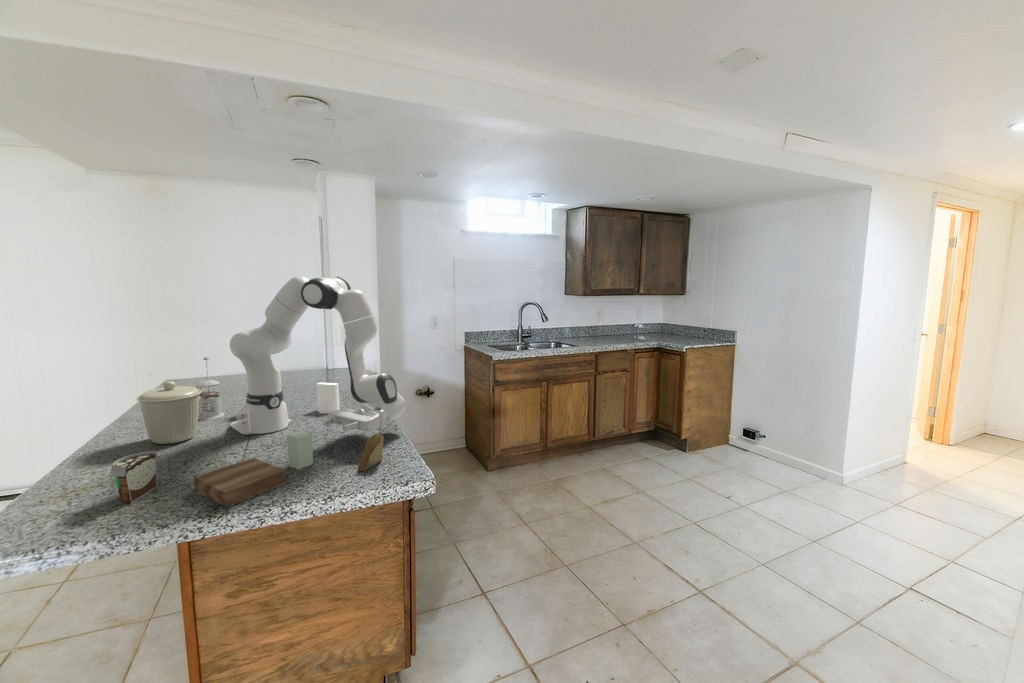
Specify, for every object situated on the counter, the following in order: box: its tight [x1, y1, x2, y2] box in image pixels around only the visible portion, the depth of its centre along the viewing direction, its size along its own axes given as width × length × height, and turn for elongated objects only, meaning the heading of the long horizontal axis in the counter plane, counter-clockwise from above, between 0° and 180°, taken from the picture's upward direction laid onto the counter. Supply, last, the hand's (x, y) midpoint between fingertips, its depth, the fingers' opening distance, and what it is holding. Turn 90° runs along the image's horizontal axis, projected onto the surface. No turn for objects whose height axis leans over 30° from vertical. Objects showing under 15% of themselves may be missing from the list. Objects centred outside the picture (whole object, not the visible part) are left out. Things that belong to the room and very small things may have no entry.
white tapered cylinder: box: [316, 382, 340, 414], centre depth 197 cm, size 9×9×12 cm
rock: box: [357, 432, 385, 472], centre depth 141 cm, size 11×9×10 cm
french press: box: [195, 356, 225, 421], centre depth 185 cm, size 10×12×25 cm
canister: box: [136, 380, 202, 445], centre depth 158 cm, size 18×18×21 cm
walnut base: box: [193, 457, 287, 508], centre depth 124 cm, size 16×16×4 cm
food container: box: [110, 450, 159, 505], centre depth 118 cm, size 12×6×10 cm, turn 5°
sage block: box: [286, 430, 314, 470], centre depth 139 cm, size 5×5×10 cm
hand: (334, 425), depth 149 cm, fingers open, 8 cm apart
